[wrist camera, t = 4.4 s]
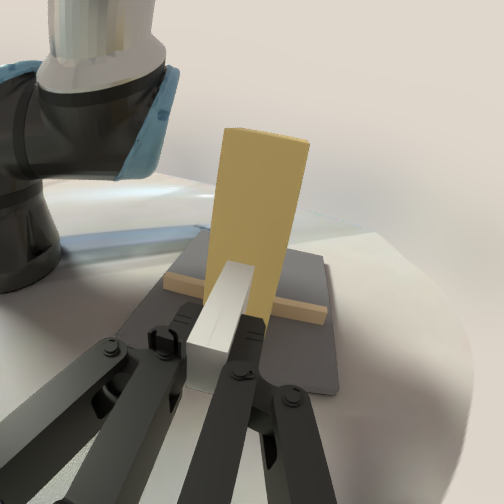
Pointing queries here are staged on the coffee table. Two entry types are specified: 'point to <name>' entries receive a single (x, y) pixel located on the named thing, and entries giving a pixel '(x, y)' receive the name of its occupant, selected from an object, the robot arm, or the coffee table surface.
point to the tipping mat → (280, 322)
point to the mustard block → (255, 210)
